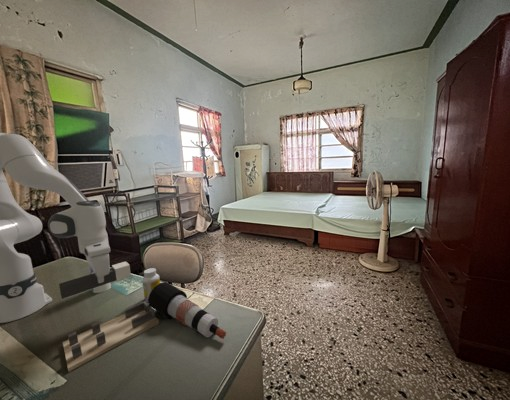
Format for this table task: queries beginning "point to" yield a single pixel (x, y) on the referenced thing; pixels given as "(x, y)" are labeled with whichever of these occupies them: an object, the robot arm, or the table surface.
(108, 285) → the water bottle
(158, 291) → the cable
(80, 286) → the bar
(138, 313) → the clip board
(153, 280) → the supplement bottle
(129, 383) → the table surface
